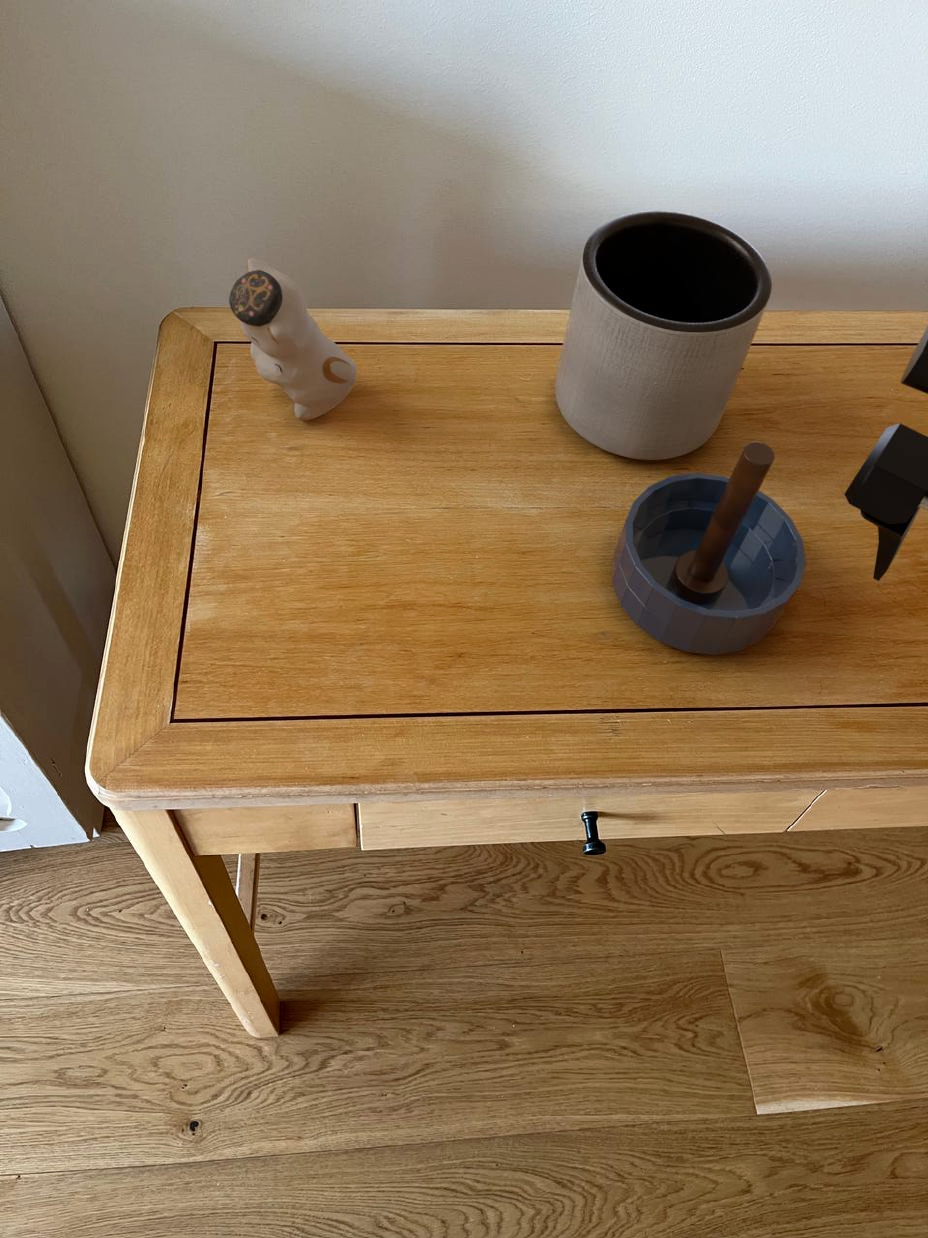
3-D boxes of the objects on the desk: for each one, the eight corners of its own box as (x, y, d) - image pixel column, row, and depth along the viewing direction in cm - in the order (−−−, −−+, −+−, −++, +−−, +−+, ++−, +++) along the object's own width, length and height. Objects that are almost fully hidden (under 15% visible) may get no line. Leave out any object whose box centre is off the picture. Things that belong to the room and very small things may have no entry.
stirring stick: (711, 557, 79) (775, 426, 66) (730, 599, 77) (801, 472, 63) (663, 565, 78) (718, 433, 65) (681, 608, 76) (742, 480, 63)
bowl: (739, 508, 83) (762, 463, 78) (806, 642, 76) (835, 601, 70) (588, 531, 80) (602, 485, 75) (642, 671, 73) (661, 631, 68)
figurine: (247, 376, 88) (223, 235, 75) (353, 370, 89) (347, 230, 76) (251, 444, 83) (226, 307, 70) (363, 436, 84) (358, 299, 72)
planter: (752, 428, 88) (815, 292, 75) (622, 492, 83) (665, 357, 70) (646, 328, 95) (687, 187, 82) (519, 382, 90) (541, 240, 77)
